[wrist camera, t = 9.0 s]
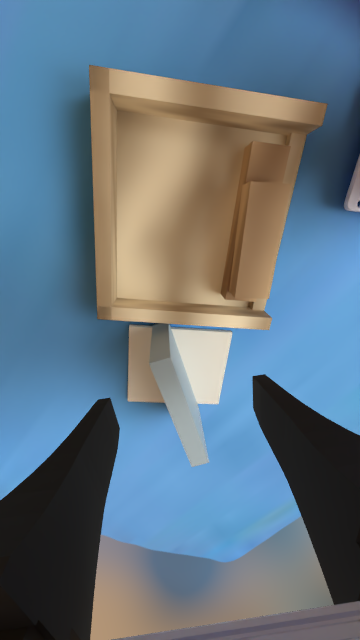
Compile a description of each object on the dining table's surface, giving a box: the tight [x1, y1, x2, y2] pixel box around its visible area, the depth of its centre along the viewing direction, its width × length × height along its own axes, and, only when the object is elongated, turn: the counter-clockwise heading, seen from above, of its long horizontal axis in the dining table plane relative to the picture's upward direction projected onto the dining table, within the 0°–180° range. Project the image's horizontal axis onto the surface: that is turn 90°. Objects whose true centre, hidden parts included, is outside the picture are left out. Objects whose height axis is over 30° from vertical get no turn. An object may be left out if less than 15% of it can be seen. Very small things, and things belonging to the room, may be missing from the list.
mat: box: [128, 324, 232, 404], centre depth 23 cm, size 9×8×1 cm
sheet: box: [149, 323, 209, 467], centre depth 20 cm, size 1×10×6 cm, turn 17°
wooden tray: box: [89, 65, 328, 330], centre depth 17 cm, size 13×14×3 cm
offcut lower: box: [220, 141, 291, 302], centre depth 17 cm, size 2×10×2 cm, turn 174°
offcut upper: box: [229, 181, 291, 299], centre depth 16 cm, size 2×7×2 cm, turn 178°
